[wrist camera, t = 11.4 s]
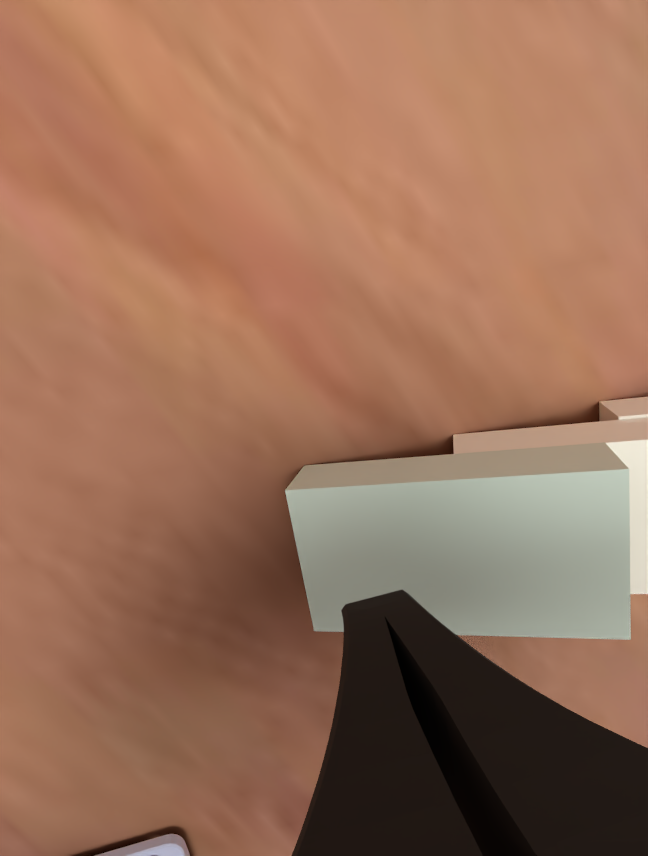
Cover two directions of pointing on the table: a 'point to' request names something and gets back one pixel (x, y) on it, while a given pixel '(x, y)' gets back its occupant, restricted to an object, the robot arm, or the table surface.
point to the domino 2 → (628, 438)
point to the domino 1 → (472, 539)
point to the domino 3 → (623, 409)
